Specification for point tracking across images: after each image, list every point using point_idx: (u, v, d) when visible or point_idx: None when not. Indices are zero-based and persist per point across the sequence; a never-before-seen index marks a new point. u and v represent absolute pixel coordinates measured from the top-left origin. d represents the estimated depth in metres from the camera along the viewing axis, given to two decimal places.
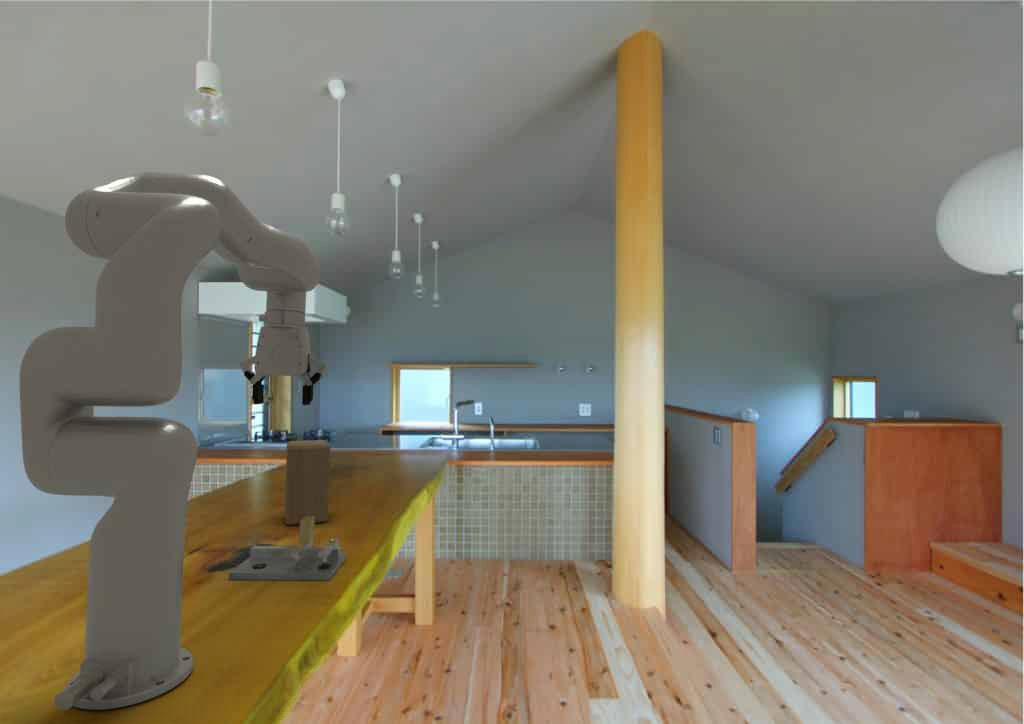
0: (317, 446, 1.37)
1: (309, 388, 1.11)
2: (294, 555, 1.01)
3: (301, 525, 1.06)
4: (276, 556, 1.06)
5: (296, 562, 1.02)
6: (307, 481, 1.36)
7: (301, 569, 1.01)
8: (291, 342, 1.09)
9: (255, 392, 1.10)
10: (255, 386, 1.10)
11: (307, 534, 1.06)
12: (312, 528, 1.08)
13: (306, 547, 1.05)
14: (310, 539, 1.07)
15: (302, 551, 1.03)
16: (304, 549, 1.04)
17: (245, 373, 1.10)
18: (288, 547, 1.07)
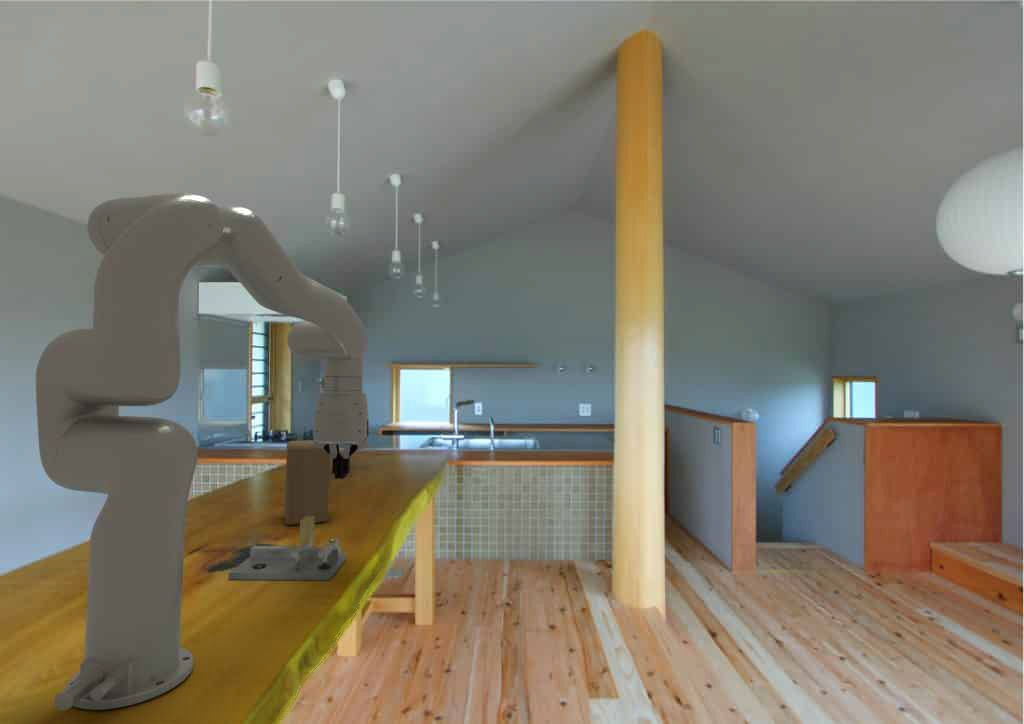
0: None
1: (346, 461, 1.08)
2: (294, 555, 1.01)
3: (301, 525, 1.06)
4: (276, 556, 1.06)
5: (296, 562, 1.02)
6: (307, 481, 1.36)
7: (301, 569, 1.01)
8: (350, 409, 1.06)
9: (336, 467, 1.07)
10: (336, 460, 1.07)
11: (307, 534, 1.06)
12: (312, 528, 1.08)
13: (306, 547, 1.05)
14: (310, 539, 1.07)
15: (302, 551, 1.03)
16: (304, 549, 1.04)
17: (325, 447, 1.08)
18: (288, 547, 1.07)
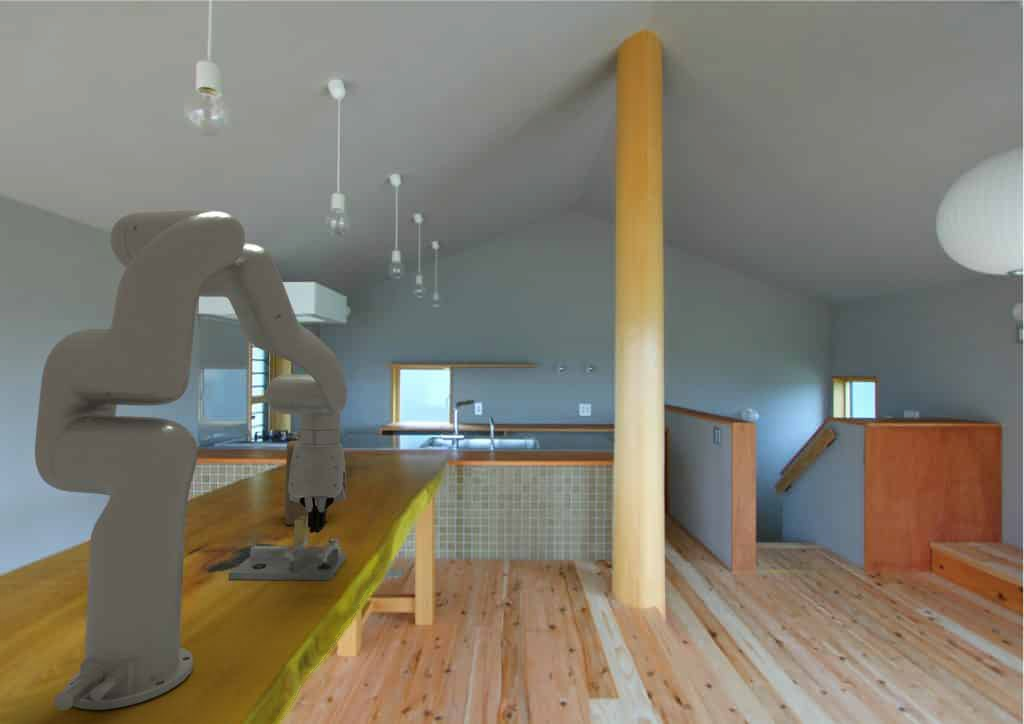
0: None
1: (322, 514, 1.07)
2: (288, 555, 1.01)
3: (295, 525, 1.06)
4: (276, 556, 1.06)
5: (290, 562, 1.02)
6: None
7: (301, 569, 1.01)
8: (326, 462, 1.05)
9: (311, 520, 1.06)
10: (311, 514, 1.06)
11: (301, 534, 1.06)
12: (307, 528, 1.08)
13: (300, 547, 1.05)
14: (304, 539, 1.07)
15: (296, 551, 1.03)
16: (298, 549, 1.04)
17: (301, 500, 1.07)
18: (288, 547, 1.07)
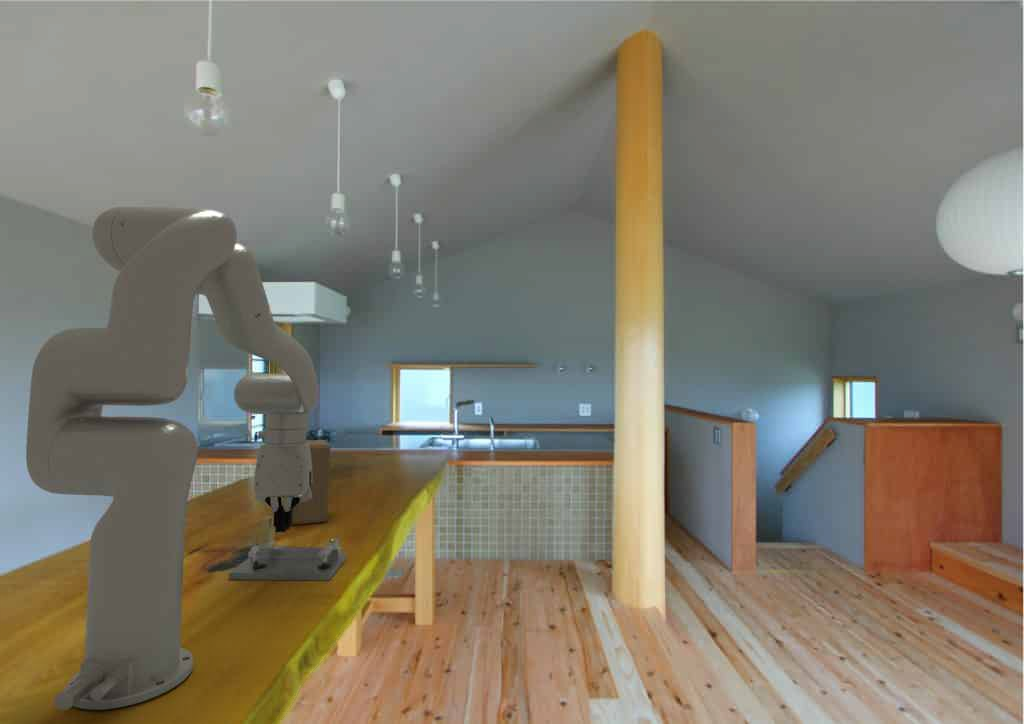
0: (317, 446, 1.37)
1: (287, 514, 1.07)
2: (251, 555, 1.00)
3: (261, 525, 1.06)
4: (276, 556, 1.06)
5: (254, 562, 1.02)
6: None
7: (301, 569, 1.01)
8: (292, 462, 1.05)
9: (277, 520, 1.06)
10: (277, 514, 1.06)
11: (267, 534, 1.06)
12: (273, 527, 1.08)
13: (265, 547, 1.05)
14: (270, 538, 1.06)
15: (260, 551, 1.03)
16: (263, 549, 1.04)
17: (266, 499, 1.06)
18: (288, 547, 1.07)
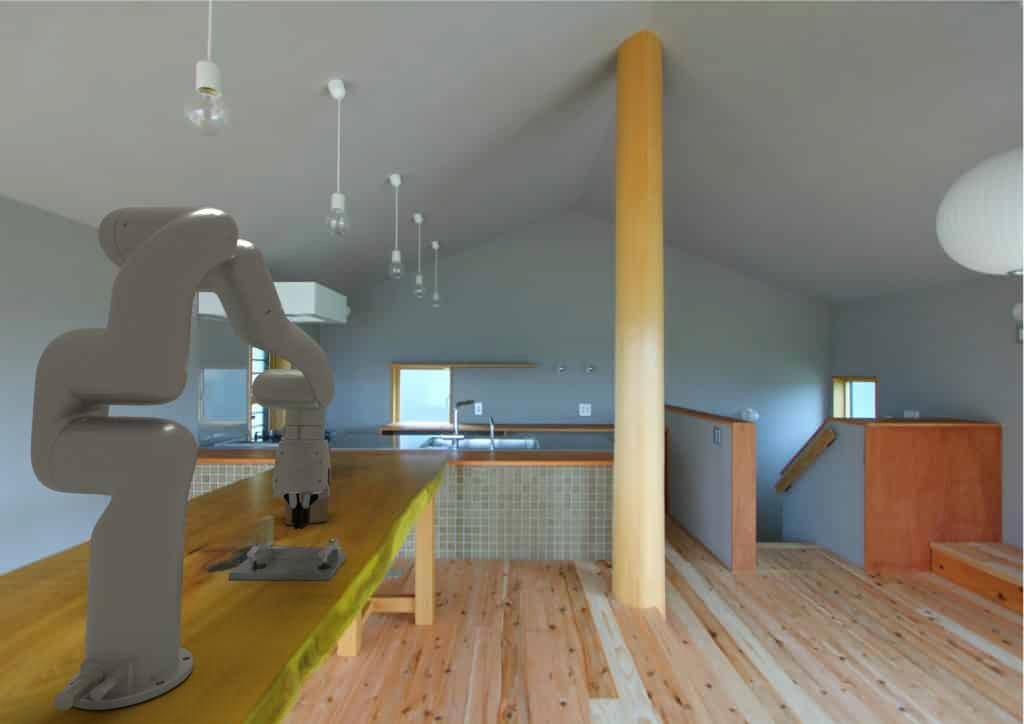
0: None
1: (306, 510, 1.06)
2: (250, 555, 1.00)
3: (260, 525, 1.06)
4: (276, 556, 1.06)
5: (253, 562, 1.02)
6: None
7: (301, 569, 1.01)
8: (311, 458, 1.05)
9: (295, 517, 1.05)
10: (295, 510, 1.06)
11: (265, 534, 1.06)
12: (272, 527, 1.08)
13: (264, 547, 1.05)
14: (269, 538, 1.06)
15: (259, 551, 1.03)
16: (262, 549, 1.04)
17: (285, 496, 1.06)
18: (288, 547, 1.07)
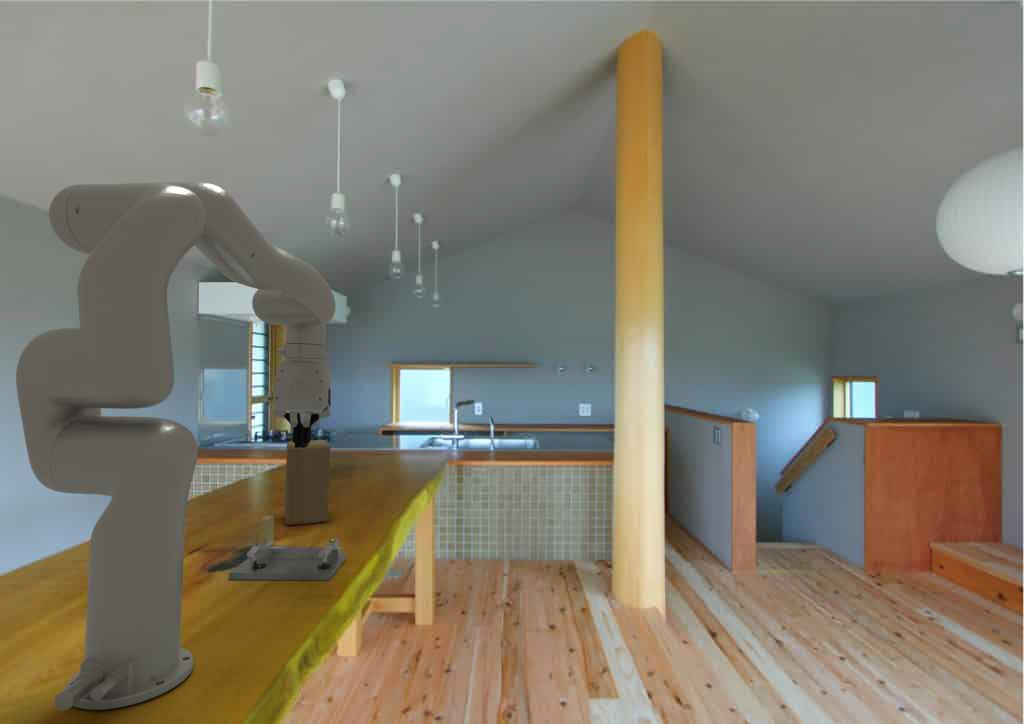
0: (317, 446, 1.37)
1: (307, 430, 1.07)
2: (250, 555, 1.00)
3: (260, 525, 1.06)
4: (276, 556, 1.06)
5: (253, 562, 1.02)
6: (307, 481, 1.36)
7: (301, 569, 1.01)
8: (311, 377, 1.05)
9: (296, 435, 1.06)
10: (296, 429, 1.06)
11: (265, 534, 1.06)
12: (272, 527, 1.08)
13: (264, 547, 1.05)
14: (269, 538, 1.06)
15: (259, 551, 1.03)
16: (262, 549, 1.04)
17: (285, 415, 1.07)
18: (288, 547, 1.07)
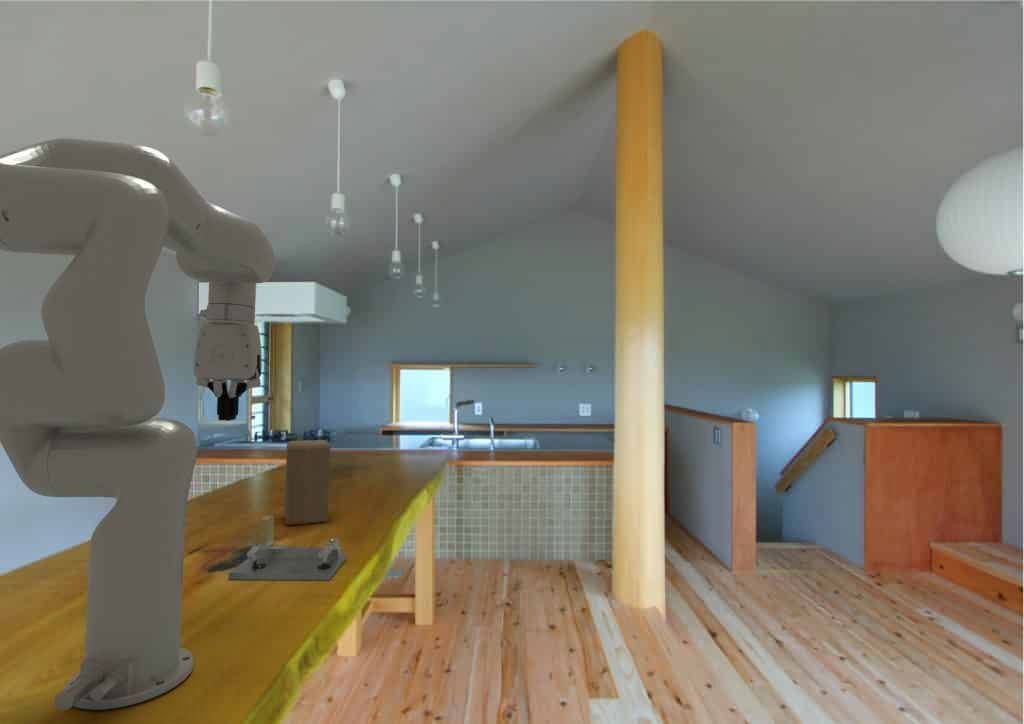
0: (317, 446, 1.37)
1: (233, 401, 0.96)
2: (250, 555, 1.00)
3: (260, 525, 1.06)
4: (276, 556, 1.06)
5: (253, 562, 1.02)
6: (307, 481, 1.36)
7: (301, 569, 1.01)
8: (236, 341, 0.94)
9: (220, 406, 0.95)
10: (220, 399, 0.95)
11: (265, 534, 1.06)
12: (272, 527, 1.08)
13: (264, 547, 1.05)
14: (269, 538, 1.06)
15: (259, 551, 1.03)
16: (262, 549, 1.04)
17: (209, 384, 0.95)
18: (288, 547, 1.07)
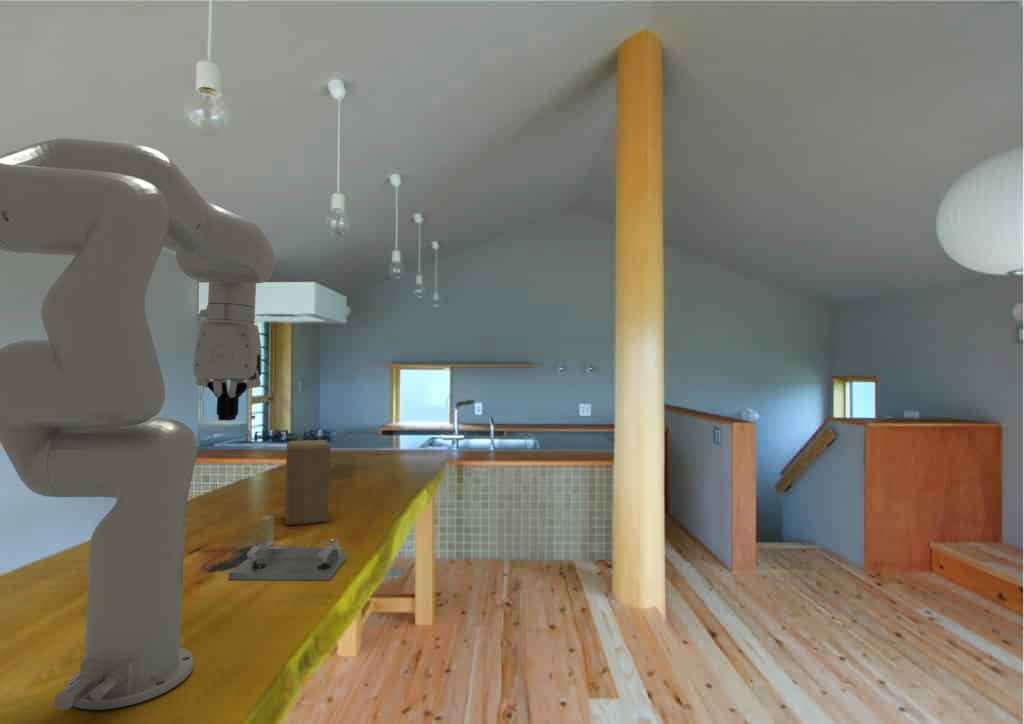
0: (317, 446, 1.37)
1: (233, 400, 0.96)
2: (250, 555, 1.00)
3: (260, 525, 1.06)
4: (276, 556, 1.06)
5: (253, 562, 1.02)
6: (307, 481, 1.36)
7: (301, 569, 1.01)
8: (236, 341, 0.94)
9: (220, 406, 0.95)
10: (220, 399, 0.95)
11: (265, 534, 1.06)
12: (272, 527, 1.08)
13: (264, 547, 1.05)
14: (269, 538, 1.06)
15: (259, 551, 1.03)
16: (262, 549, 1.04)
17: (209, 384, 0.95)
18: (288, 547, 1.07)
